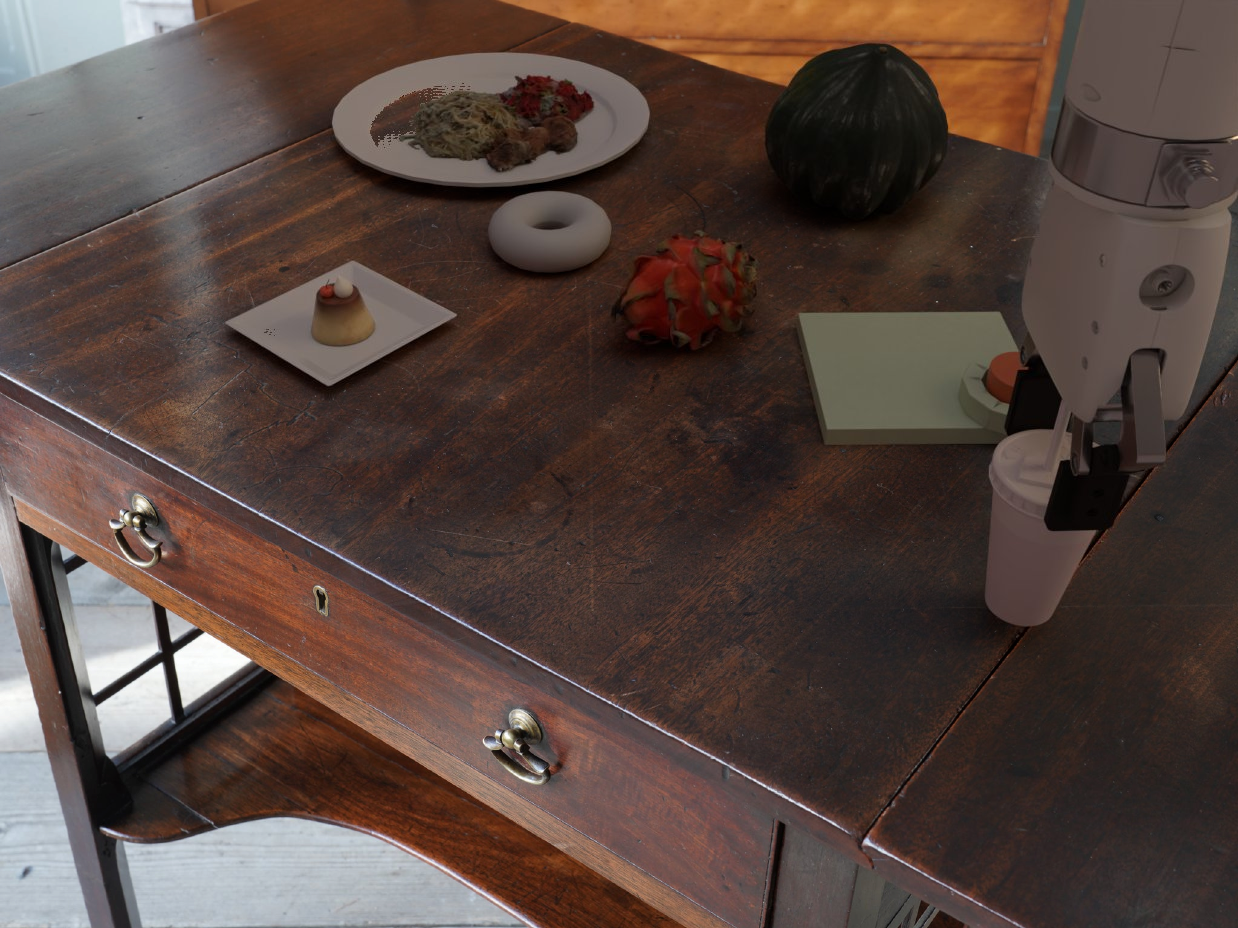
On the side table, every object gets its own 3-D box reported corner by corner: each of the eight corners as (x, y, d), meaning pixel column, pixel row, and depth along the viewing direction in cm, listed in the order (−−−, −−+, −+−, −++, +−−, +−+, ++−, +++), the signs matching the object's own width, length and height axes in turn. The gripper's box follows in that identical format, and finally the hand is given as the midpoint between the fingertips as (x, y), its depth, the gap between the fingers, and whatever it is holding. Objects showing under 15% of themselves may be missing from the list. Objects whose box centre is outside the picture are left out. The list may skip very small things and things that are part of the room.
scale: (1018, 327, 91) (1026, 292, 89) (1082, 454, 79) (1093, 418, 77) (796, 328, 91) (800, 293, 89) (827, 457, 79) (832, 420, 77)
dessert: (226, 335, 89) (213, 278, 86) (354, 272, 96) (346, 217, 93) (330, 399, 83) (320, 340, 80) (459, 327, 90) (454, 271, 87)
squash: (809, 81, 113) (791, -9, 99) (969, 117, 108) (974, 28, 94) (758, 221, 112) (731, 151, 97) (917, 263, 107) (914, 196, 93)
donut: (465, 247, 100) (540, 294, 94) (461, 209, 98) (538, 254, 92) (559, 210, 105) (637, 252, 99) (558, 172, 103) (637, 213, 97)
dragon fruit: (766, 337, 92) (624, 394, 90) (718, 240, 94) (577, 293, 91) (799, 295, 84) (644, 356, 81) (745, 189, 86) (591, 246, 83)
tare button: (1043, 370, 82) (1048, 350, 81) (1062, 409, 79) (1068, 389, 78) (978, 370, 82) (982, 351, 81) (995, 409, 79) (1000, 390, 78)
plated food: (270, 165, 111) (263, 130, 109) (433, 53, 132) (430, 21, 130) (571, 229, 102) (570, 192, 100) (693, 97, 123) (694, 65, 121)
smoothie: (936, 580, 68) (980, 377, 59) (1030, 547, 70) (1086, 346, 61) (1007, 660, 64) (1067, 453, 55) (1105, 623, 66) (1179, 417, 57)
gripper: (1343, 250, 43) (1195, 602, 55) (1164, 60, 56) (1075, 375, 68) (1131, 254, 43) (1028, 606, 55) (1002, 63, 56) (941, 378, 68)
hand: (1055, 475), depth 61 cm, fingers closed on smoothie, 6 cm apart
